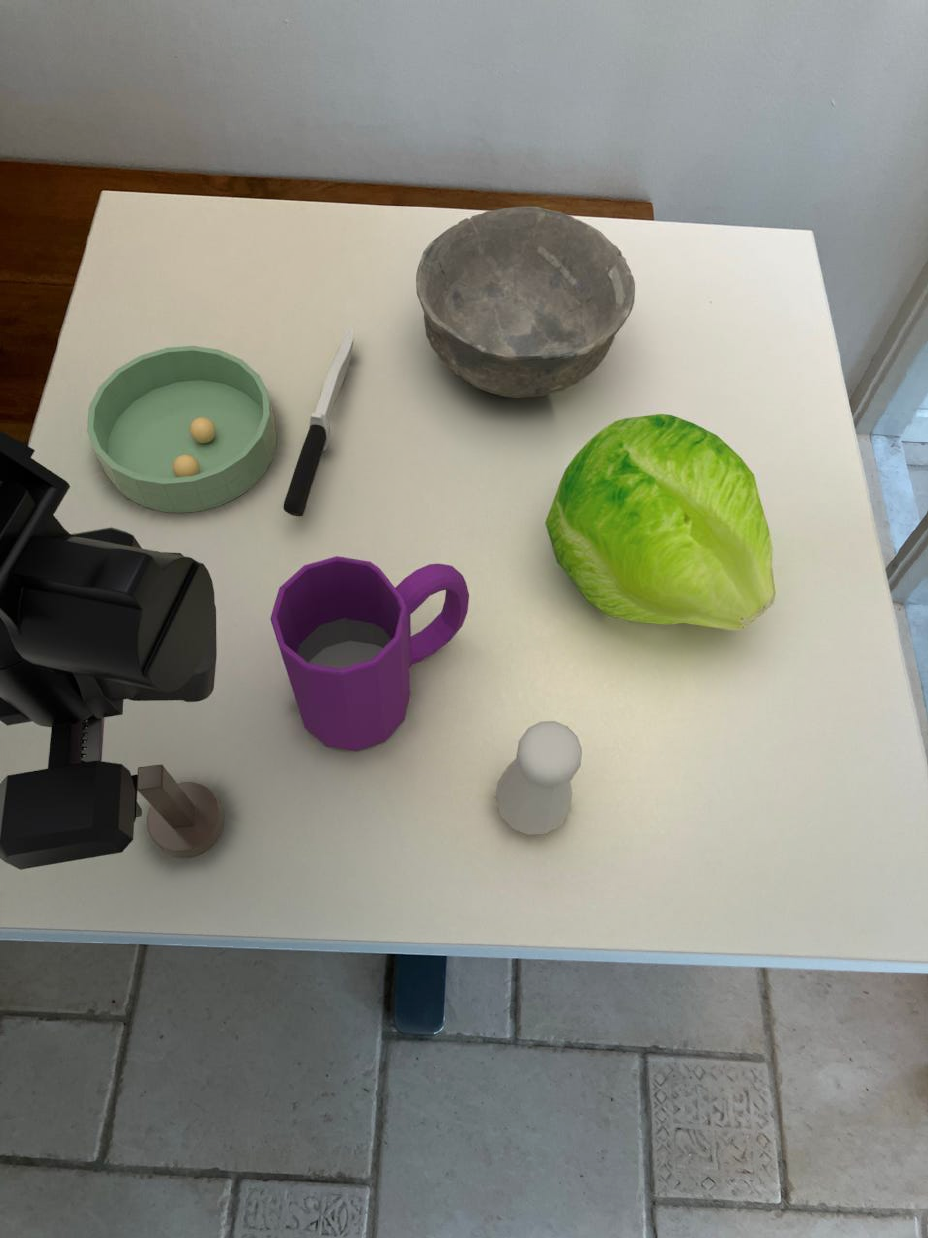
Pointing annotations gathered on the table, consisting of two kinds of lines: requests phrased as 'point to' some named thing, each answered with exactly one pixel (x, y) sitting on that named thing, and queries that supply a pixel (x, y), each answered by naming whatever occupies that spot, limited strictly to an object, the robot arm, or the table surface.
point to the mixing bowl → (182, 428)
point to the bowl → (523, 299)
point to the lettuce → (664, 526)
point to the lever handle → (179, 813)
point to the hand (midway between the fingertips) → (136, 743)
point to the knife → (318, 431)
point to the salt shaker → (540, 779)
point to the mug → (359, 643)
